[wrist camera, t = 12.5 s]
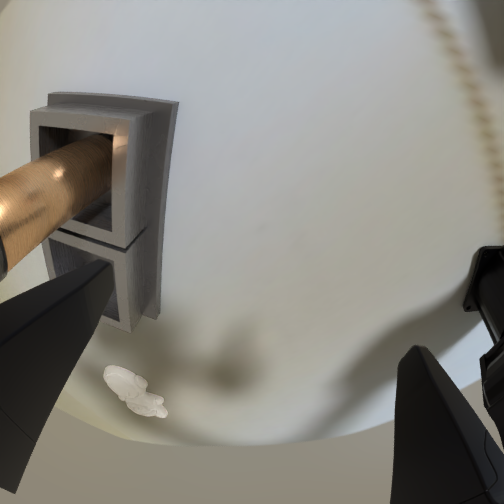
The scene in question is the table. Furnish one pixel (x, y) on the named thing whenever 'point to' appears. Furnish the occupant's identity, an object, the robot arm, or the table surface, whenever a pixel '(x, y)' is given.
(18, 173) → the copper tube
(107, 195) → the grey two-compartment tray
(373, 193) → the table surface
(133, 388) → the astronaut figurine
